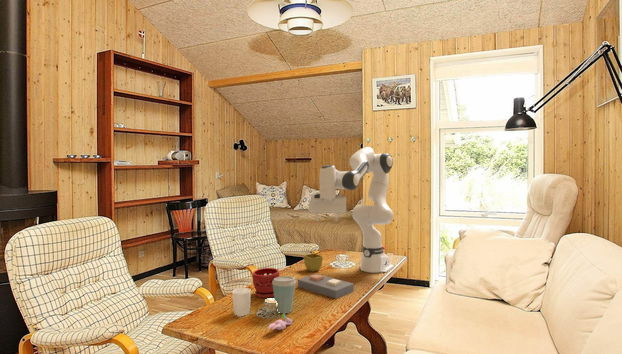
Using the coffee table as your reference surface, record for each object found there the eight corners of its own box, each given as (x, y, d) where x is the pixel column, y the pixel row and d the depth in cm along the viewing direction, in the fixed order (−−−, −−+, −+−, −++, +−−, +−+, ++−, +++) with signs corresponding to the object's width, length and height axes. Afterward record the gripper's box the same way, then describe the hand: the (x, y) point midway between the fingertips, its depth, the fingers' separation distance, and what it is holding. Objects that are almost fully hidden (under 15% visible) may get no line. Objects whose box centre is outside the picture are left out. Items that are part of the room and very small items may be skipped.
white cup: (235, 309, 167) (234, 287, 167) (252, 309, 167) (252, 287, 167) (230, 317, 159) (230, 293, 159) (249, 317, 159) (248, 293, 159)
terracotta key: (316, 279, 201) (316, 274, 201) (323, 281, 198) (323, 276, 198) (309, 282, 198) (309, 276, 198) (316, 284, 194) (316, 278, 194)
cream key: (333, 284, 193) (333, 278, 193) (341, 286, 190) (341, 280, 190) (327, 286, 190) (327, 281, 190) (334, 289, 186) (334, 283, 186)
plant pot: (265, 288, 195) (265, 266, 195) (284, 293, 188) (284, 270, 187) (247, 296, 184) (246, 272, 184) (267, 301, 177) (267, 276, 176)
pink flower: (284, 324, 155) (262, 332, 142) (285, 309, 156) (264, 316, 143) (297, 327, 152) (276, 335, 139) (298, 311, 153) (277, 319, 140)
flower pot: (323, 270, 227) (323, 256, 227) (311, 273, 222) (311, 258, 222) (315, 267, 234) (314, 253, 234) (303, 269, 230) (303, 255, 229)
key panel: (315, 280, 208) (315, 273, 208) (353, 291, 190) (353, 283, 190) (297, 286, 198) (297, 279, 198) (335, 298, 180) (335, 290, 180)
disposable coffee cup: (267, 310, 166) (267, 277, 166) (287, 304, 173) (287, 272, 172) (280, 318, 158) (280, 282, 157) (301, 312, 164) (301, 278, 164)
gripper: (345, 194, 205) (345, 220, 205) (308, 194, 203) (308, 220, 203) (347, 195, 199) (347, 221, 199) (309, 195, 197) (308, 221, 197)
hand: (327, 221), depth 201 cm, fingers open, 8 cm apart
